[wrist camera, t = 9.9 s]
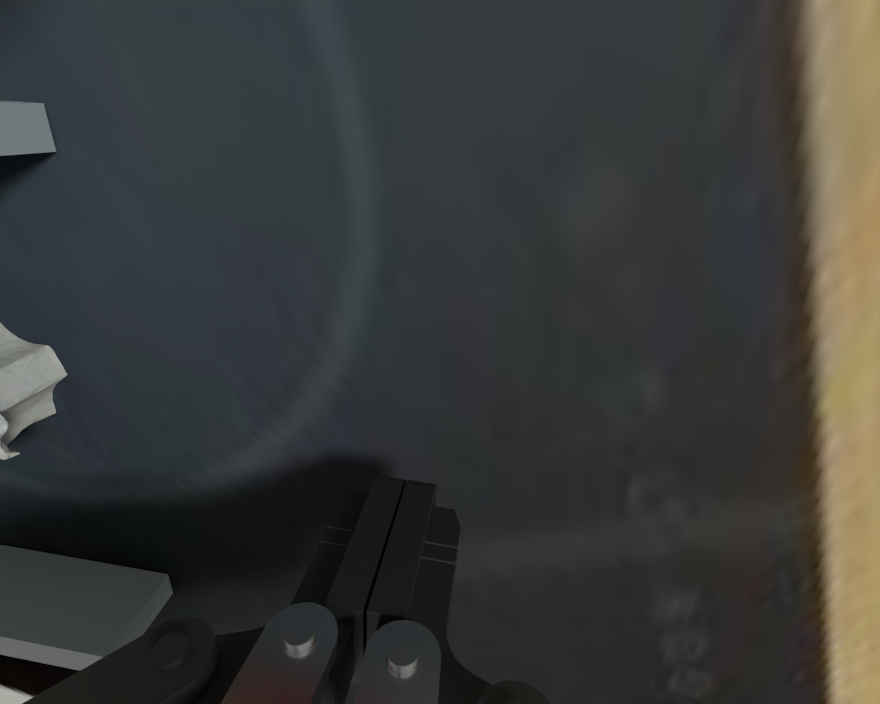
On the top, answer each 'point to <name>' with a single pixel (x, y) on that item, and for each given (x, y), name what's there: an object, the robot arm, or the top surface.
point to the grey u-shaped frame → (55, 576)
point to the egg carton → (24, 386)
